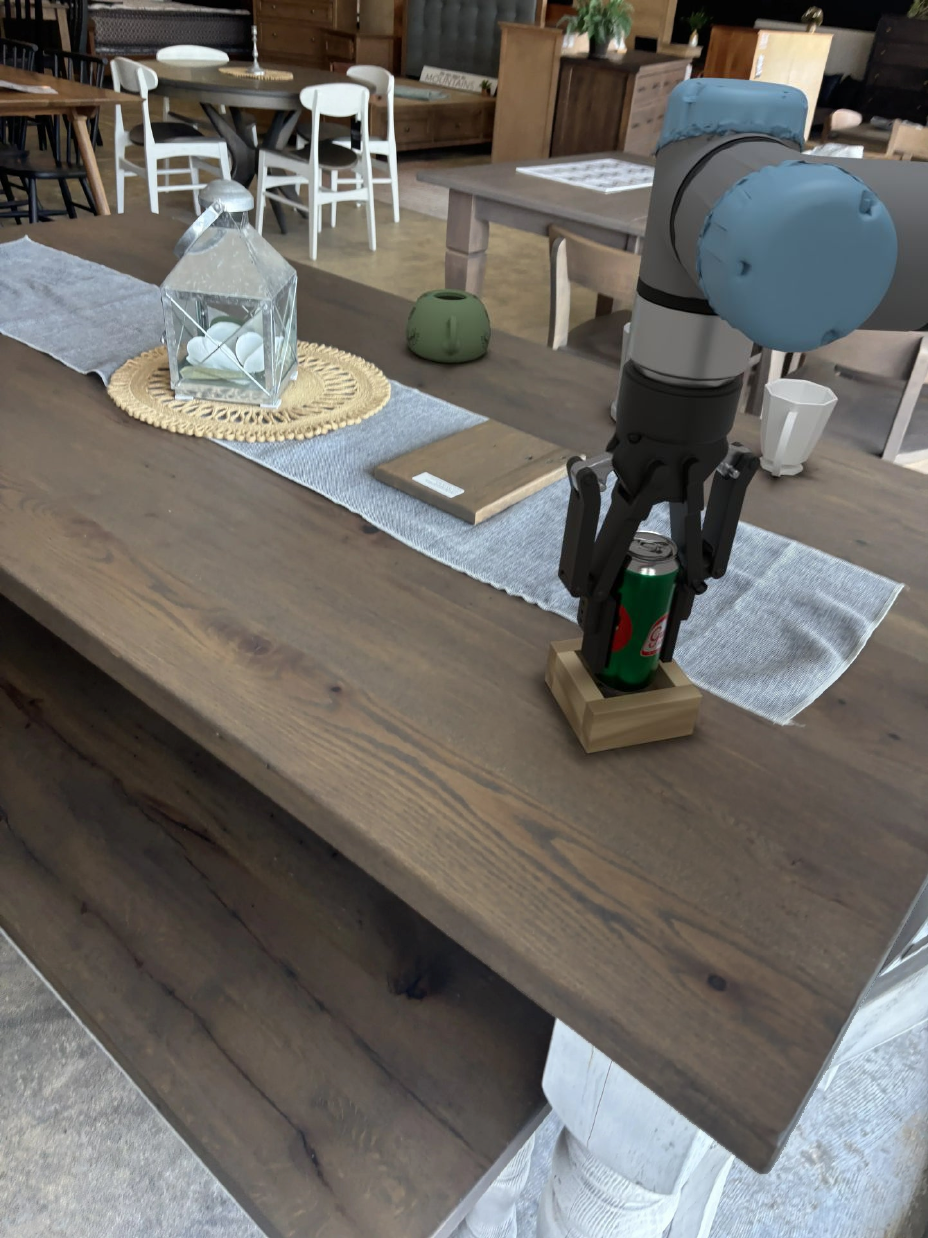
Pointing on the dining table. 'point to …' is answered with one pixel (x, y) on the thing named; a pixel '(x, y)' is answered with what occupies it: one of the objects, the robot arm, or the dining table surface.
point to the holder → (620, 702)
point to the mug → (448, 326)
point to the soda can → (641, 611)
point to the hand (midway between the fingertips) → (626, 656)
